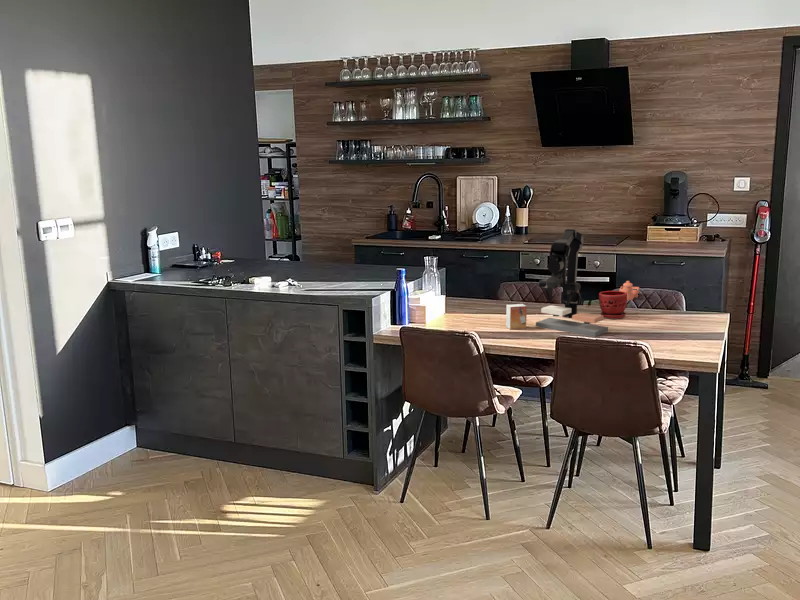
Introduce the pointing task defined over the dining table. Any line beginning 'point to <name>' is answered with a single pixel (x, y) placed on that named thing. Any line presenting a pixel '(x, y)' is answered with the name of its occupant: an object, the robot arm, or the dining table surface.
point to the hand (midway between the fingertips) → (559, 303)
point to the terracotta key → (587, 317)
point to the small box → (516, 316)
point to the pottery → (629, 290)
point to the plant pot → (613, 304)
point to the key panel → (572, 327)
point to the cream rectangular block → (556, 310)
